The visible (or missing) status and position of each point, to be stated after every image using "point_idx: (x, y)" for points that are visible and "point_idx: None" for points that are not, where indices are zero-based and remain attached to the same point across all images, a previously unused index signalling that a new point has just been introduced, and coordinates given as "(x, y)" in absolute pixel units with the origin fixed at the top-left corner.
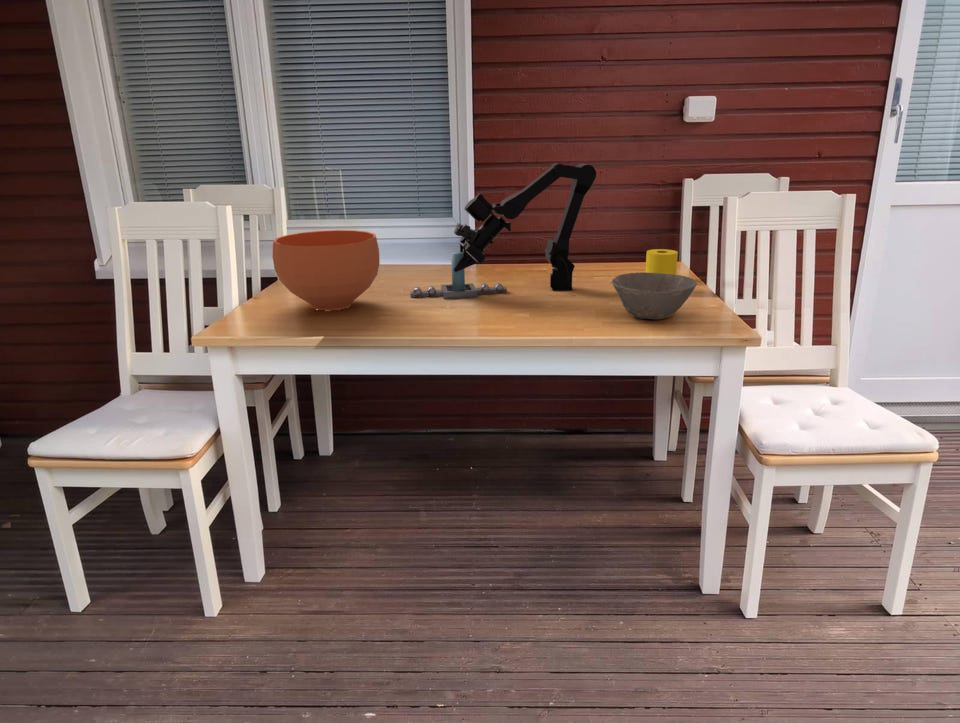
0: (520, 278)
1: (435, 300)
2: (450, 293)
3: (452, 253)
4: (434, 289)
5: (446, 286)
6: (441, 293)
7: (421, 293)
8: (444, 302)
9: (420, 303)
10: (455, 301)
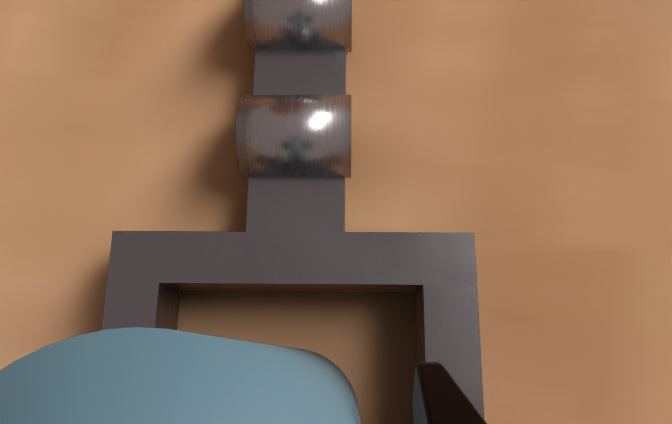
0: None
1: (107, 169)
2: (108, 308)
3: (121, 375)
4: (236, 148)
5: (420, 293)
6: (247, 229)
7: (250, 45)
8: (9, 242)
9: (49, 46)
10: (8, 348)
